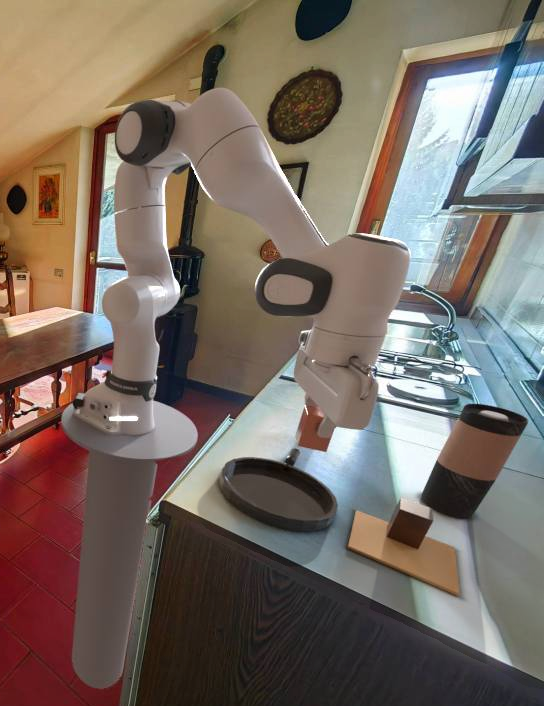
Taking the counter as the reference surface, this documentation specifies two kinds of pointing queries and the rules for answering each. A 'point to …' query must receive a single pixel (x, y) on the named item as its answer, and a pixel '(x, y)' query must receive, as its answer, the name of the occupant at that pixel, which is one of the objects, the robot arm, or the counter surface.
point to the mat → (405, 553)
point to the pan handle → (291, 458)
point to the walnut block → (410, 523)
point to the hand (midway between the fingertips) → (315, 427)
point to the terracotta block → (311, 430)
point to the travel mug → (472, 459)
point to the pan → (278, 494)
